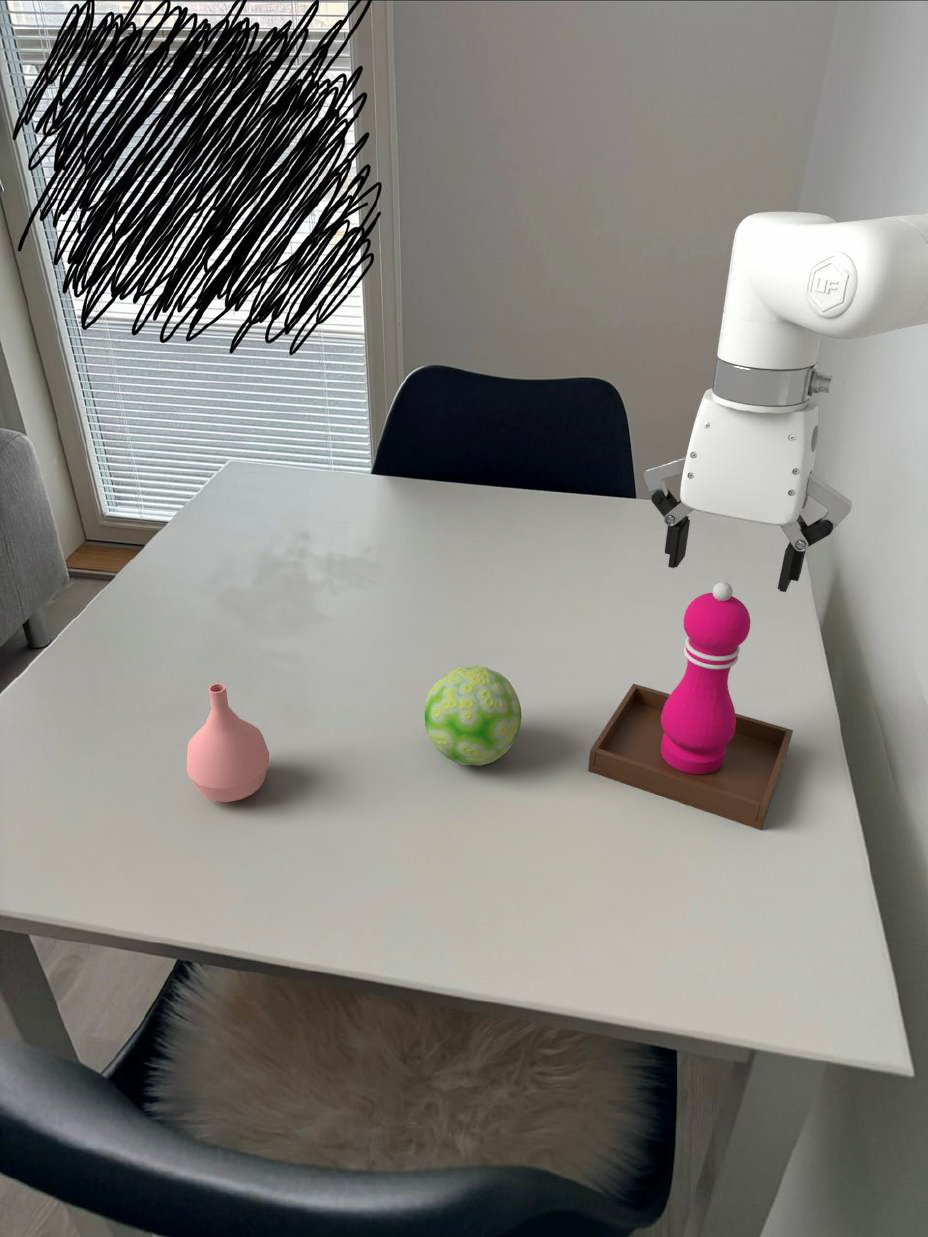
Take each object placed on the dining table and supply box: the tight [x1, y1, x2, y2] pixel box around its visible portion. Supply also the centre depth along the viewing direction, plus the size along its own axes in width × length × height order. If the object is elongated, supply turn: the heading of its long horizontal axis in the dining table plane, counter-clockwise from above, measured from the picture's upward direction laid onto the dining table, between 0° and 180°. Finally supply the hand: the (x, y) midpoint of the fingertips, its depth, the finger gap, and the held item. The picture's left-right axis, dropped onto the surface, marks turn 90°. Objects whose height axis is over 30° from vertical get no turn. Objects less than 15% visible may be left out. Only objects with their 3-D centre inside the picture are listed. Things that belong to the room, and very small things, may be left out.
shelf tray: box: [587, 683, 794, 831], centre depth 89 cm, size 17×13×3 cm
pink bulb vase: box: [185, 682, 270, 803], centre depth 82 cm, size 8×8×12 cm
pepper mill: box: [661, 581, 751, 775], centre depth 84 cm, size 7×7×20 cm
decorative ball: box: [424, 665, 522, 766], centre depth 88 cm, size 10×10×10 cm
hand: (729, 573), depth 78 cm, fingers open, 9 cm apart
